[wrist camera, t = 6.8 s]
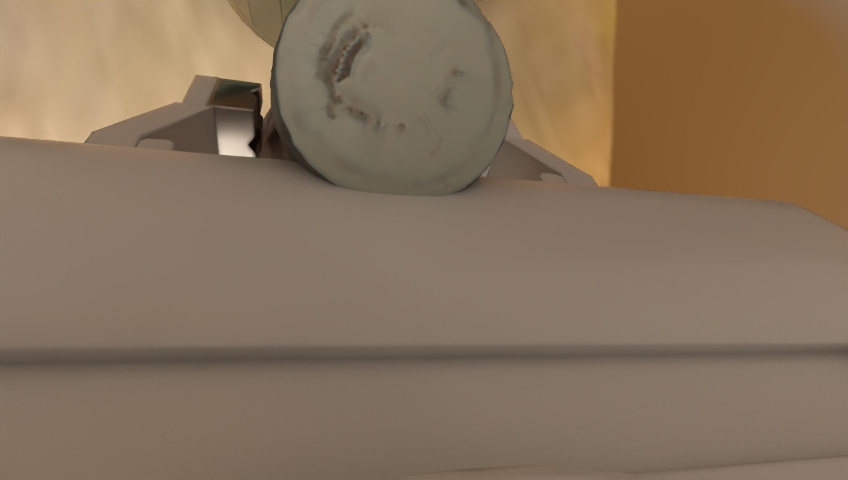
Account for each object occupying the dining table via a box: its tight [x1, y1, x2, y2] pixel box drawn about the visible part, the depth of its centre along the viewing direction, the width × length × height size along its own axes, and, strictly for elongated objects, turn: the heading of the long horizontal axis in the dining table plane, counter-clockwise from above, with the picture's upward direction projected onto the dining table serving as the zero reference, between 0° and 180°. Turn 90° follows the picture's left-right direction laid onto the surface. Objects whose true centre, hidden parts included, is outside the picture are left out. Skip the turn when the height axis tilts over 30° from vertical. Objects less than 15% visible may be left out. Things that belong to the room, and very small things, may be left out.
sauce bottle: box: [259, 0, 514, 196], centre depth 17 cm, size 7×6×20 cm
